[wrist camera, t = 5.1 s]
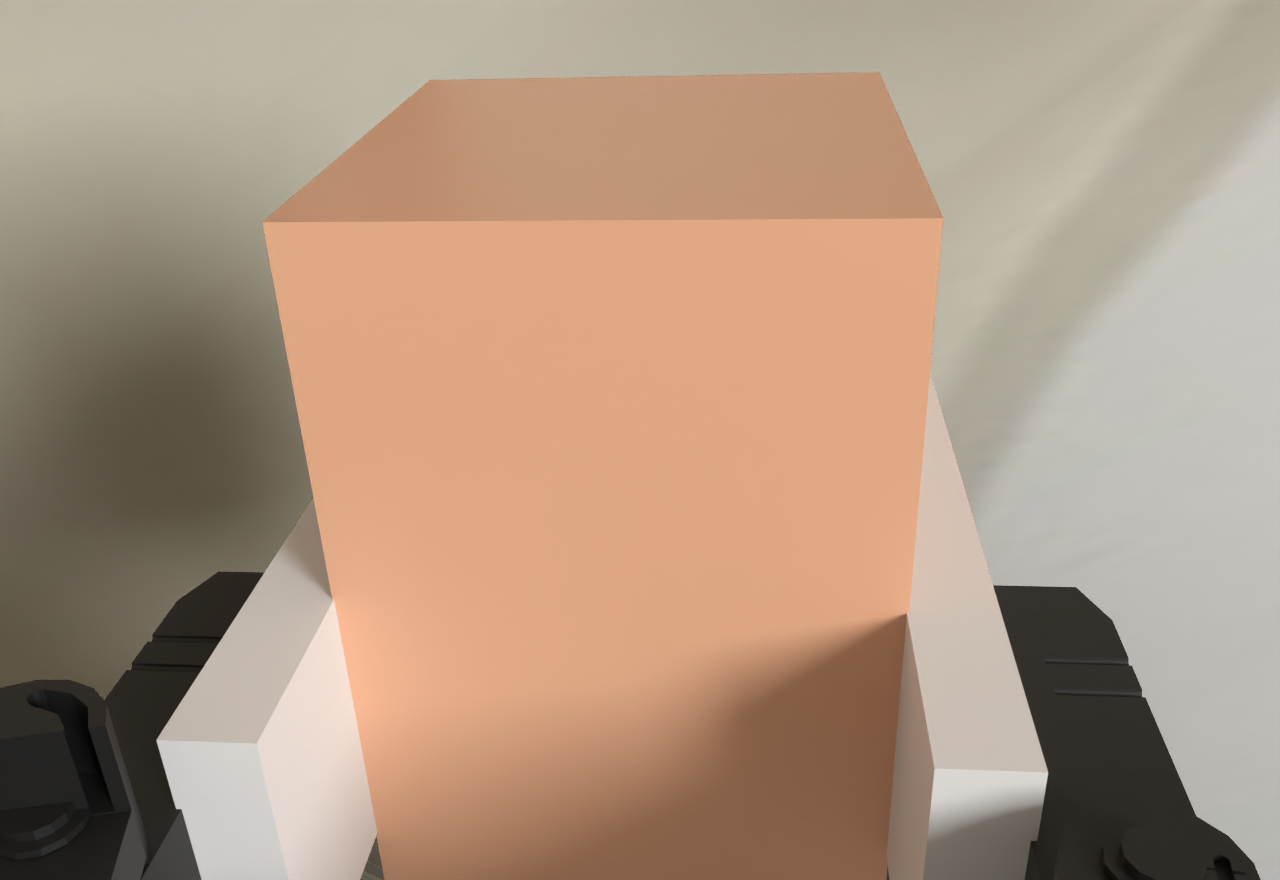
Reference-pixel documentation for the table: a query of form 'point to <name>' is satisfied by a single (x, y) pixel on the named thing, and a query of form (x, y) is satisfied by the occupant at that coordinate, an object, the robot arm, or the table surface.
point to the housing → (620, 467)
